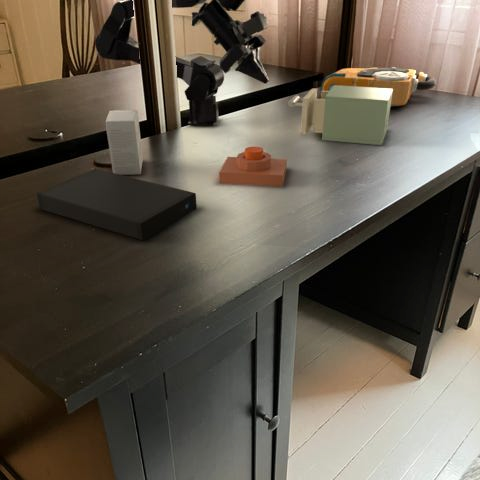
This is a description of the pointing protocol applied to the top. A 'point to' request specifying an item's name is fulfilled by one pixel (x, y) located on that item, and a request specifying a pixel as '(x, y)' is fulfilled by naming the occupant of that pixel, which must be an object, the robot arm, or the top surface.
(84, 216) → the external hard drive
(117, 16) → the robot arm
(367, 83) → the device
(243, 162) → the block
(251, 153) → the button
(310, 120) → the drawer
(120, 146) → the small box
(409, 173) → the top surface
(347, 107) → the sage green box
